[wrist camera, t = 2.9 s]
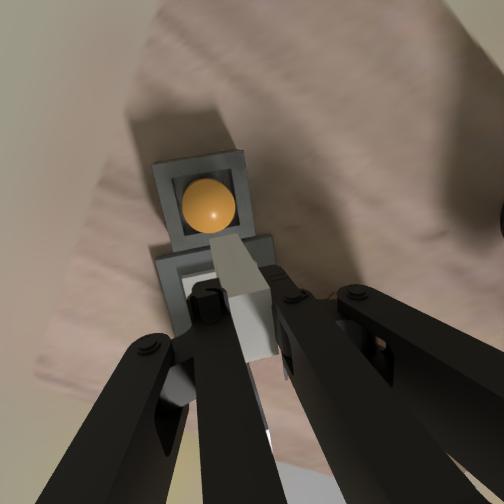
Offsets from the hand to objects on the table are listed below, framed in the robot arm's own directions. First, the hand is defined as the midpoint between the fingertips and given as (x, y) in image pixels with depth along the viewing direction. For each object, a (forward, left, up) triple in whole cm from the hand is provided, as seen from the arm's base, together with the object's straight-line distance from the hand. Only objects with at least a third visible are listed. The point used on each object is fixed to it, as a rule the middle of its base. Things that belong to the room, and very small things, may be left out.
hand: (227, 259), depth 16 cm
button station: (0, 0, -21) cm, 21 cm away
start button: (0, 0, -17) cm, 17 cm away
